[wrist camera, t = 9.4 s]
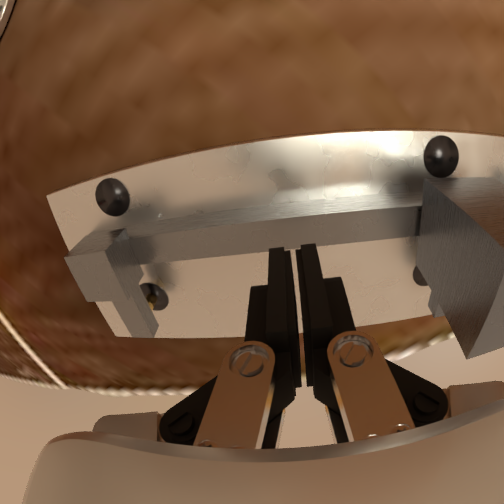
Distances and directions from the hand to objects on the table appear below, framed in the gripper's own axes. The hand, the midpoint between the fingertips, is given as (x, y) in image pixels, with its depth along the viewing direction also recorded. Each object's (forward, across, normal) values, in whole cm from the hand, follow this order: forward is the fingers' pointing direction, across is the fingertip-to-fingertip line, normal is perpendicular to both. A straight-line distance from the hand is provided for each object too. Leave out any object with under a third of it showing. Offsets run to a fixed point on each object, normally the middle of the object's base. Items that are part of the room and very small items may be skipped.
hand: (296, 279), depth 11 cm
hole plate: (+7, 0, +3) cm, 8 cm away
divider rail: (+6, -2, +3) cm, 7 cm away
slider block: (+6, -9, +2) cm, 11 cm away
